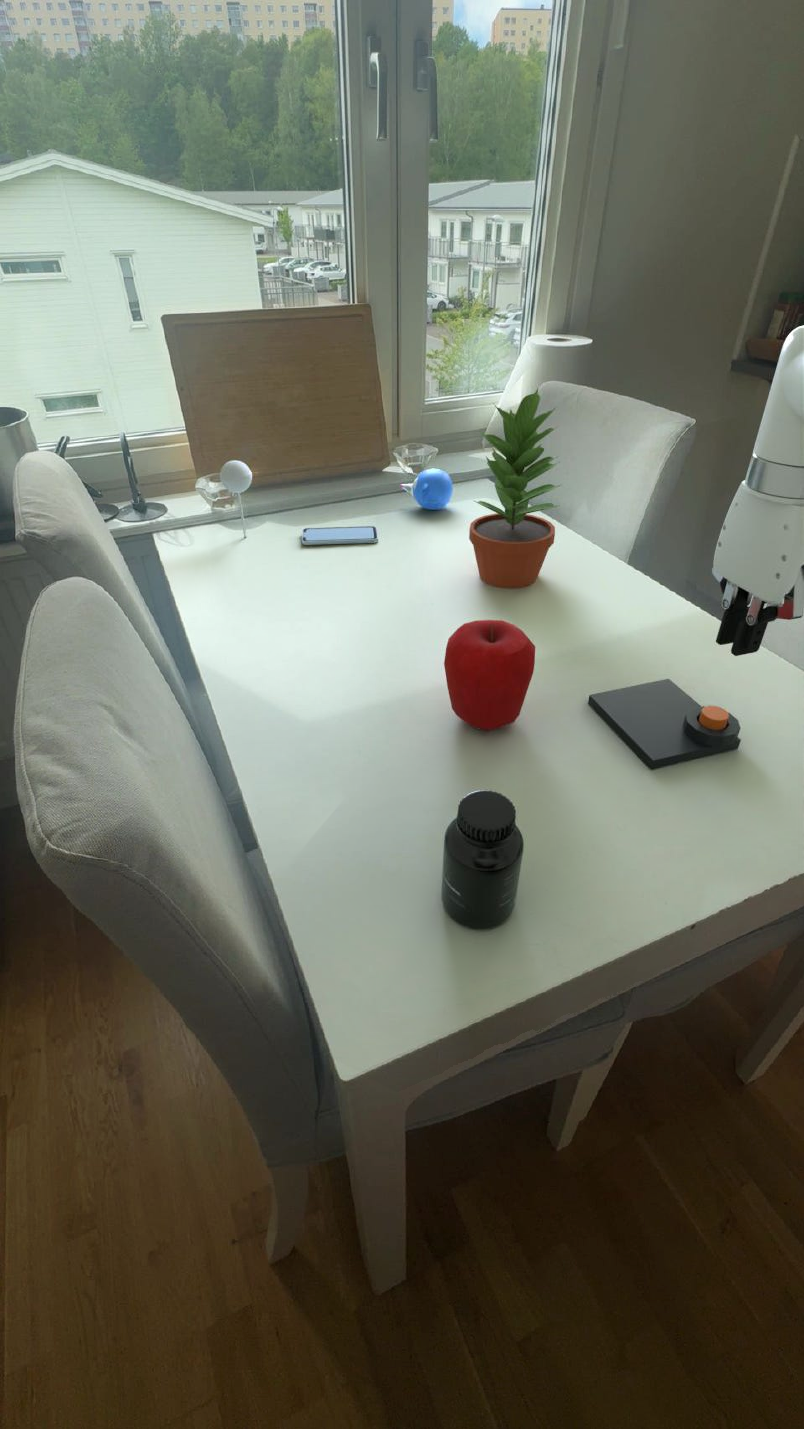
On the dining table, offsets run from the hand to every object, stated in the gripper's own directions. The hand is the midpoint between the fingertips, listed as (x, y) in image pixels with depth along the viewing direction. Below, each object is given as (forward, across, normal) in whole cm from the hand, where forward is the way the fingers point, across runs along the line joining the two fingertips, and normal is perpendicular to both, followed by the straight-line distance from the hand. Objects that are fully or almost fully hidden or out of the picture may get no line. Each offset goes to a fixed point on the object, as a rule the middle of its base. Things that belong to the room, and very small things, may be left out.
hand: (736, 646), depth 74 cm
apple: (+13, +12, +24) cm, 30 cm away
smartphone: (+13, +78, +26) cm, 84 cm away
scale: (+13, +4, +4) cm, 14 cm away
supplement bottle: (+13, -14, +36) cm, 40 cm away
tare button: (+11, 0, 0) cm, 11 cm away
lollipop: (+13, +86, +44) cm, 97 cm away
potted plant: (+13, +50, +2) cm, 52 cm away
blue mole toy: (+13, +90, +4) cm, 91 cm away
